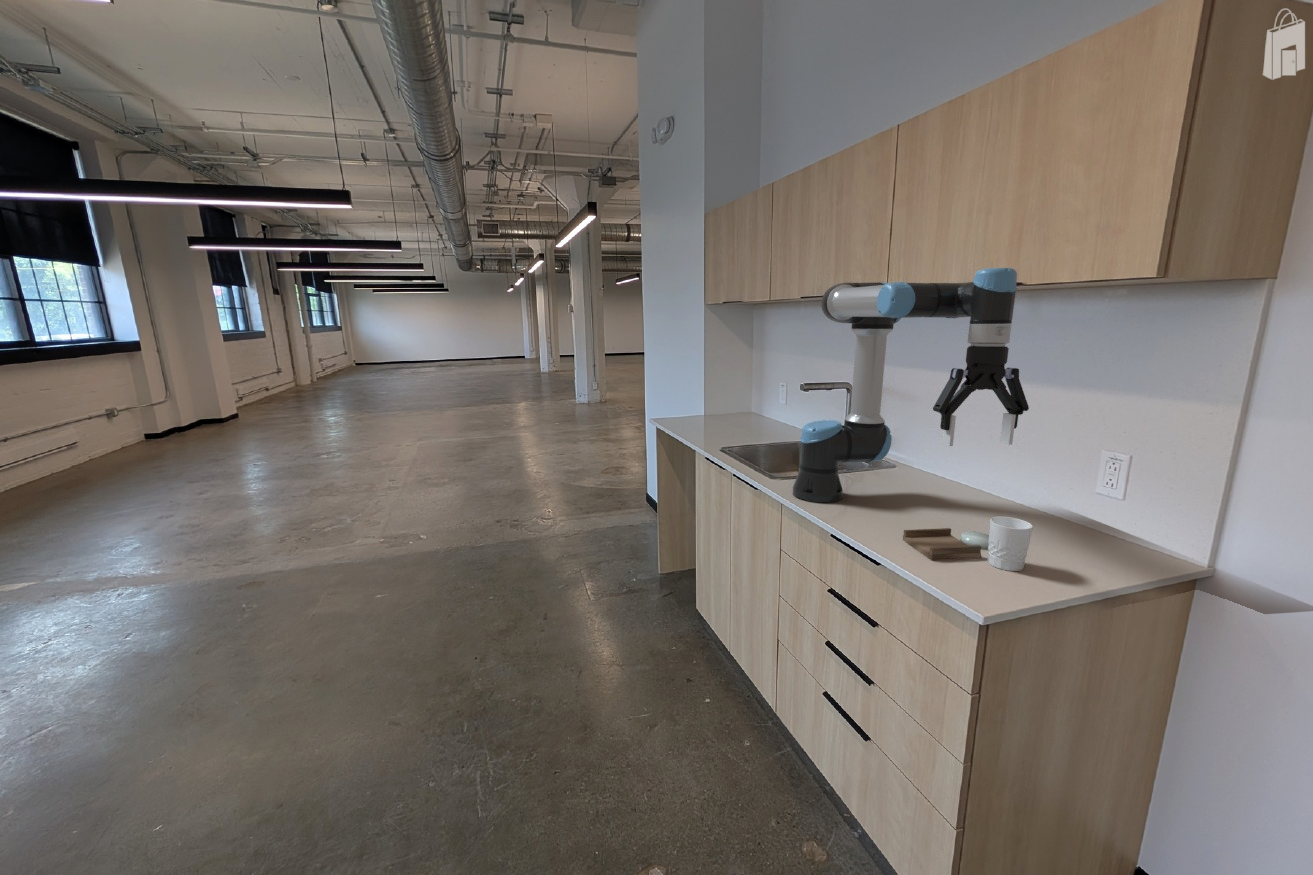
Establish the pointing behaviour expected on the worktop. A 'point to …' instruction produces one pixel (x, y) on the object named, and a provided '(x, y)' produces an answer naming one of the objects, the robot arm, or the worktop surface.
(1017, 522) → the white cup
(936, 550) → the stand
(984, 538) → the pale mint domed disc
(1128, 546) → the worktop surface
